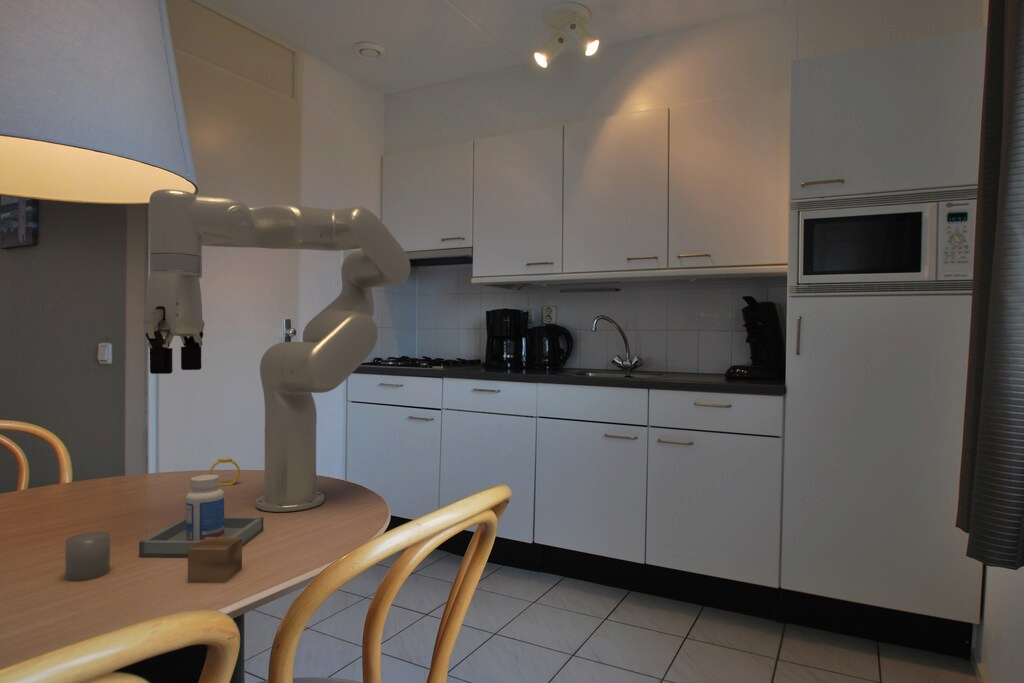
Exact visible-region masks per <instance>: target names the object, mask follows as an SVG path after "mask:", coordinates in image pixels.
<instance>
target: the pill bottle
mask: <svg viewBox="0 0 1024 683" xmlns="http://www.w3.org/2000/svg"><path fill="white" fill-rule="evenodd" d="M219 483H220V477H219V475H218V474H212V475H210V474H202V475H197V476H194V477H191V478H190V489H191V491H190V492H188V493H187V494H186V497H185V517H186V539H187V541H202V540H203V539H205V538H206V537H223V536H224V517H225V492H224V490H223V489H221V488H218V487H219V486H218V485H219Z"/></svg>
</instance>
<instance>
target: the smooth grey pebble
mask: <svg viewBox="0 0 1024 683" xmlns="http://www.w3.org/2000/svg"><path fill="white" fill-rule="evenodd" d="M64 546H65V549H64V550H65V554H64V555H65V556H64V557H65V561H64V563H65V566H64V568H65V569H64V570H65V571H64V577H65V578H64V579H65V580H66V581H67V582H75V583H76V582H86V581H90V580H94V579H98V578H103V576H106V575H108V574H109V573H110V571H111V569H110V567H111V565H110V563H111V561H110V560H111V558H110V557H111V534H110V533H109V532H105V531H104V532H103V531H95V532H92V531H91V532H86V533H85V532H84V533H80V534H76V535H74V536H73V535H72V536H71V537H69V538H67V539H66V540H65V545H64Z"/></svg>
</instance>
